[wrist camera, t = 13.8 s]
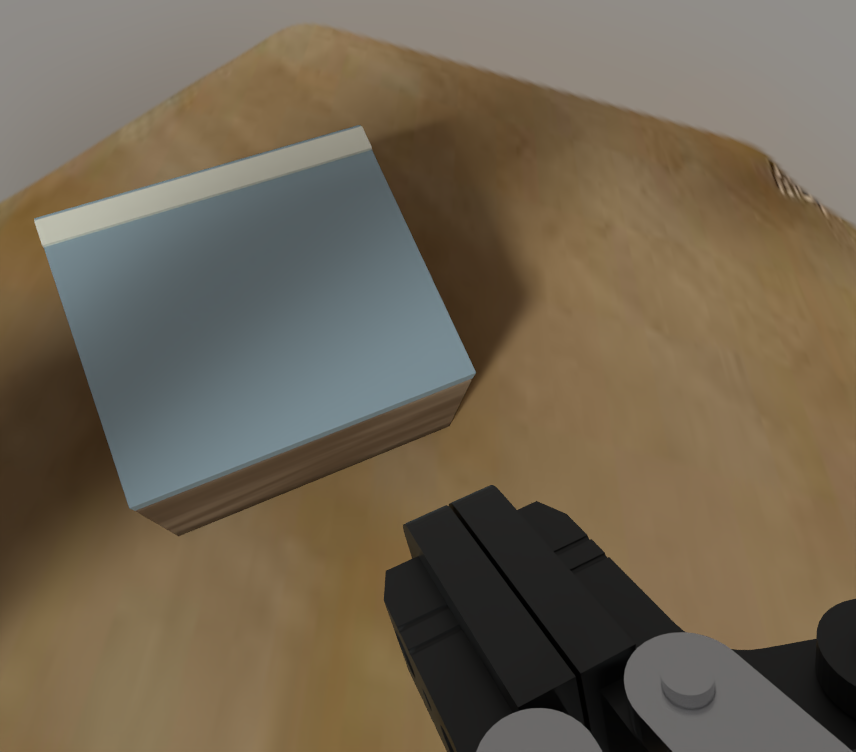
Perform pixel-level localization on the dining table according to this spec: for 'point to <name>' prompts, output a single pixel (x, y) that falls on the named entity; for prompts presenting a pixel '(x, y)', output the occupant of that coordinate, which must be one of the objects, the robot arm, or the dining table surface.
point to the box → (305, 463)
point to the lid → (248, 311)
